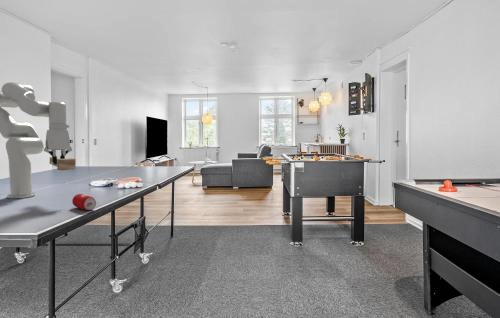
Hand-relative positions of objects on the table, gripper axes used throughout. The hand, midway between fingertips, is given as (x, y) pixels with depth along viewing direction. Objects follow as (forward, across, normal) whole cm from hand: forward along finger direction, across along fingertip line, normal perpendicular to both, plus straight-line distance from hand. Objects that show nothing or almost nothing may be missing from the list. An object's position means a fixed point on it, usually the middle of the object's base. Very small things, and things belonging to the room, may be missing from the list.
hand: (58, 163), depth 167 cm
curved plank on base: (+1, 0, +1) cm, 2 cm away
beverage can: (+15, 0, +22) cm, 27 cm away
